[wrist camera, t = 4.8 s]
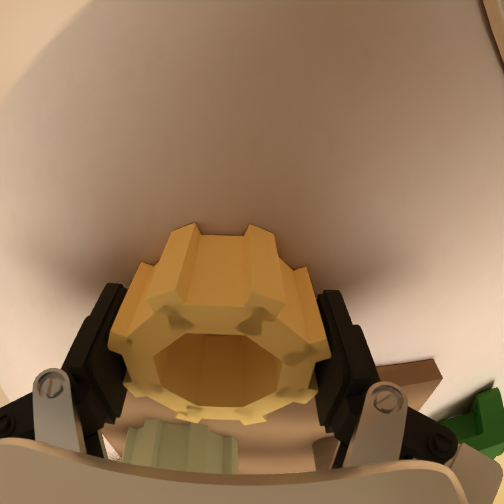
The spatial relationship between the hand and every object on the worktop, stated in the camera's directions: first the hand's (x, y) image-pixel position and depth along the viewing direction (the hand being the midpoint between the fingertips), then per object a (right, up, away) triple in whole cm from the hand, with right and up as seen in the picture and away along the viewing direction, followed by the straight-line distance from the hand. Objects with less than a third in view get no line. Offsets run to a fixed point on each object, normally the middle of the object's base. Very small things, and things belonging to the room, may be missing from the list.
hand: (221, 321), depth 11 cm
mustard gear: (0, +1, +1) cm, 1 cm away
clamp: (+20, -13, +10) cm, 27 cm away
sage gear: (-3, -9, +5) cm, 11 cm away
